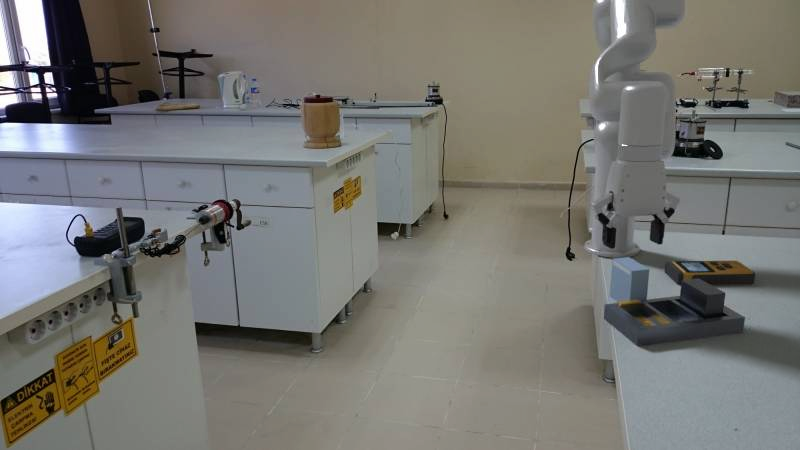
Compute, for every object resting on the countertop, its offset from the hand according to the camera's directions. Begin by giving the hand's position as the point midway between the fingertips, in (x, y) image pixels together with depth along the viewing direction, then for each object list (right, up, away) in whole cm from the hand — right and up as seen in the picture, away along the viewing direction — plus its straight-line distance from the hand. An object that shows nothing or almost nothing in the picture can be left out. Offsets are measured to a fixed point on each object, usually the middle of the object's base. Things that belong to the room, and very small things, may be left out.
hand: (632, 244), depth 115 cm
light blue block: (+1, -11, +4) cm, 12 cm away
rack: (+5, -14, -6) cm, 16 cm away
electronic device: (+22, -8, +15) cm, 28 cm away
